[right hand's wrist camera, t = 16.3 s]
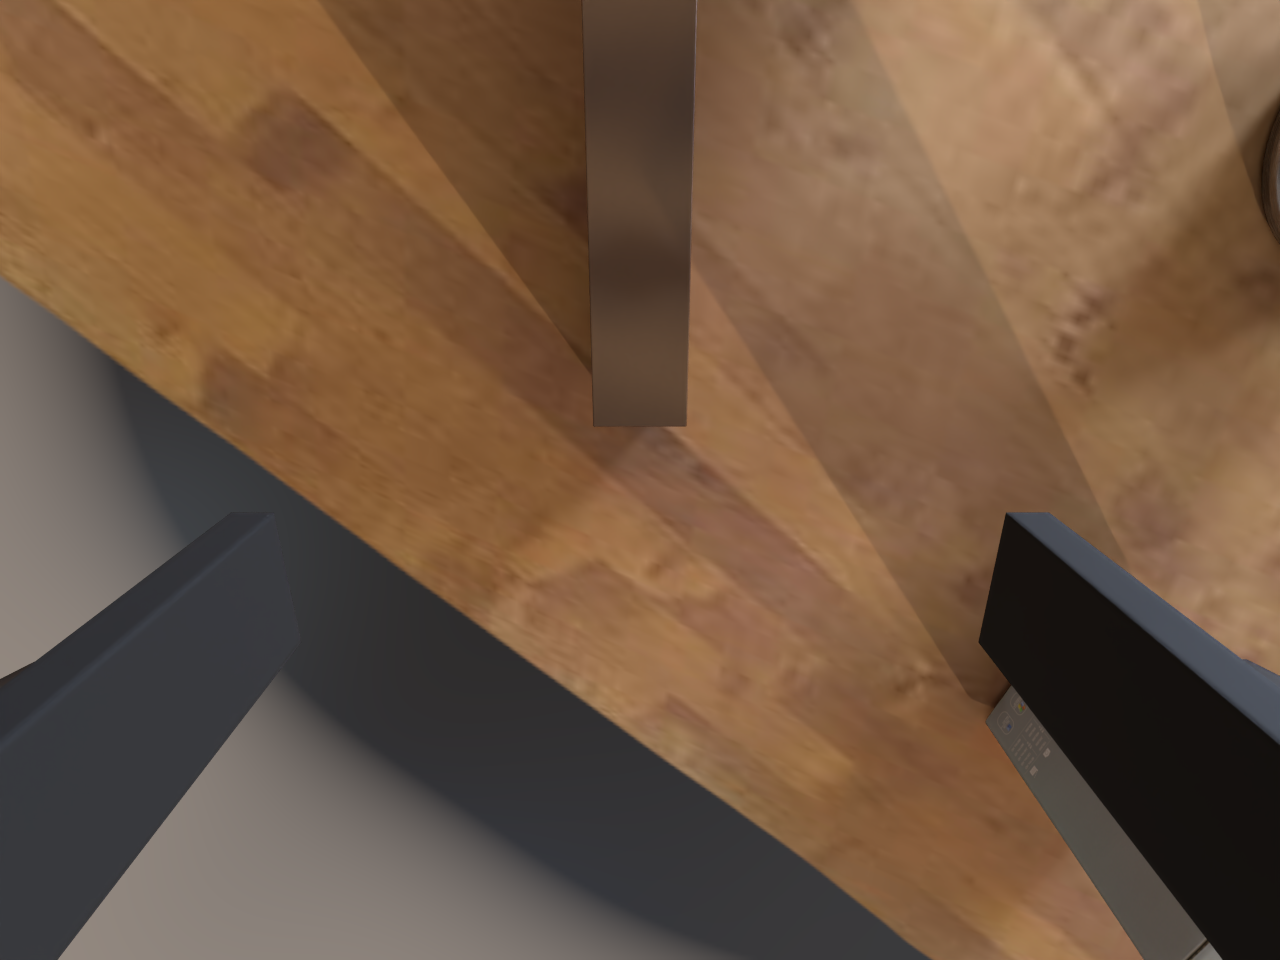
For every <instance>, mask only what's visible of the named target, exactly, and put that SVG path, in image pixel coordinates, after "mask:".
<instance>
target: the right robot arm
mask: <svg viewBox="0 0 1280 960" xmlns="http://www.w3.org/2000/svg"><path fill="white" fill-rule="evenodd" d="M1262 197H1263V204H1264V210H1265V214H1266V217H1267V220H1268V223H1269V226H1270V228H1271V230H1272V233H1273V234H1274V236H1275V238H1276V239H1277V241H1278V243H1279V244H1280V111H1279V113H1278V115H1277V118H1276V120H1275V123H1274V125H1273V128H1272V131H1271V134H1270V137H1269V140H1268V144H1267V148H1266V152H1265V157H1264V164H1263V171H1262ZM300 643H301V638H300V633H299V628H298V624H297V619H296V614H295V609H294V605H293V600H292V595H291V591H290V586H289V581H288V576H287V572H286V567H285V562H284V558H283V553H282V548H281V544H280V539H279V534H278V529H277V525H276V520H275V515H274V513H230V514H229V515H227V516H226V517H225V518H223V519H222V520H221V521H219V522H218V523H217V524H215V525H214V526H213V527H212V528H210V529H209V530H208V531H206V532H205V533H204V534H202V535H201V536H200V537H198V538H197V539H196V540H194V541H193V542H192V543H191V544H189V545H188V546H187V547H185V548H184V549H183V550H181V551H180V552H179V553H177V554H176V555H175V556H173V557H172V558H171V559H169V560H168V561H167V562H165V563H164V564H163V565H162V566H160V567H159V568H158V569H156V570H155V571H154V572H152V573H151V574H150V575H148V576H147V577H146V578H144V579H143V580H142V581H141V582H139V583H138V584H137V585H135V586H134V587H133V588H131V589H130V590H129V591H127V592H126V593H125V594H123V595H122V596H121V597H120V598H118V599H117V600H116V601H114V602H113V603H112V604H110V605H109V606H108V607H106V608H105V609H104V610H102V611H101V612H100V613H98V614H97V615H96V616H94V617H93V618H92V619H91V620H89V621H88V622H87V623H85V624H84V625H83V626H81V627H80V628H79V629H77V630H76V631H75V632H73V633H72V634H71V635H69V636H68V637H67V638H66V639H64V640H63V641H62V642H60V643H59V644H58V645H56V646H55V647H54V648H52V649H51V650H50V651H48V652H47V653H46V654H45V655H43V656H42V657H41V658H39V659H38V660H37V661H35V662H33V663H31V664H29V665H27V666H25V667H23V668H21V669H19V670H17V671H15V672H13V673H11V674H9V675H7V676H5V677H3V678H1V679H0V960H58V958H59V957H60V956H61V954H62V953H63V952H64V951H65V949H66V948H67V947H68V945H69V944H70V943H71V941H72V940H73V939H74V938H75V936H76V935H77V934H78V932H79V931H80V930H81V928H82V927H83V926H84V925H85V923H86V922H87V921H88V919H89V918H90V917H91V915H92V914H93V913H94V912H95V910H96V909H97V908H98V906H99V905H100V904H101V902H102V901H103V900H104V899H105V897H106V896H107V895H108V893H109V892H110V891H111V889H112V888H113V887H114V886H115V884H116V883H117V882H118V880H119V879H120V878H121V876H122V875H123V874H124V873H125V871H126V870H127V869H128V867H129V866H130V865H131V863H132V862H133V861H134V859H135V858H136V857H137V856H138V854H139V853H140V852H141V850H142V849H143V848H144V846H145V845H146V844H147V843H148V841H149V840H150V839H151V837H152V836H153V835H154V833H155V832H156V831H157V829H158V828H159V827H160V826H161V824H162V823H163V822H164V820H165V819H166V818H167V817H168V815H169V814H170V813H171V811H172V810H173V809H174V807H175V806H176V805H177V804H178V802H179V801H180V800H181V798H182V797H183V796H184V794H185V793H186V792H187V790H188V789H189V788H190V787H191V785H192V784H193V783H194V781H195V780H196V779H197V778H198V776H199V775H200V774H201V772H202V771H203V770H204V768H205V767H206V766H207V765H208V763H209V762H210V761H211V759H212V758H213V757H214V755H215V754H216V753H217V752H218V750H219V749H220V748H221V746H222V745H223V744H224V742H225V741H226V740H227V738H228V737H229V736H230V735H231V733H232V732H233V731H234V729H235V728H236V727H237V725H238V724H239V723H240V722H241V720H242V719H243V718H244V716H245V715H246V714H247V712H248V711H249V710H250V709H251V707H252V706H253V705H254V703H255V702H256V701H257V699H258V698H259V697H260V696H261V694H262V693H263V692H264V690H265V689H266V688H267V686H268V685H269V684H270V683H271V681H272V680H273V679H274V677H275V676H276V675H277V673H278V672H279V671H280V669H281V668H282V667H283V666H284V664H285V663H286V662H287V660H288V659H289V658H290V657H291V655H292V654H293V653H294V651H295V650H296V649H297V647H298V646H299V645H300ZM979 643H980V645H981V646H982V647H983V649H984V650H985V651H986V653H987V654H988V655H989V657H990V658H991V659H992V660H993V662H994V663H995V664H996V666H997V667H998V668H999V670H1000V671H1001V672H1002V673H1003V675H1004V676H1005V677H1006V679H1007V680H1008V681H1009V683H1010V684H1011V685H1012V686H1013V688H1014V689H1015V690H1016V692H1017V693H1018V694H1019V696H1020V697H1021V698H1022V699H1023V701H1024V702H1025V703H1026V705H1027V706H1028V707H1029V709H1030V710H1031V711H1032V712H1033V714H1034V715H1035V716H1036V718H1037V719H1038V720H1039V722H1040V723H1041V724H1042V725H1043V727H1044V728H1045V729H1046V731H1047V732H1048V733H1049V735H1050V736H1051V737H1052V738H1053V740H1054V741H1055V742H1056V744H1057V745H1058V746H1059V748H1060V749H1061V750H1062V752H1063V753H1064V754H1065V755H1066V757H1067V758H1068V759H1069V761H1070V762H1071V763H1072V765H1073V766H1074V767H1075V768H1076V770H1077V771H1078V772H1079V774H1080V775H1081V776H1082V778H1083V779H1084V780H1085V781H1086V783H1087V784H1088V785H1089V787H1090V788H1091V789H1092V791H1093V792H1094V793H1095V794H1096V796H1097V797H1098V798H1099V800H1100V801H1101V802H1102V804H1103V805H1104V806H1105V807H1106V809H1107V810H1108V811H1109V813H1110V814H1111V815H1112V817H1113V818H1114V819H1115V820H1116V822H1117V823H1118V824H1119V826H1120V827H1121V828H1122V830H1123V831H1124V832H1125V833H1126V835H1127V836H1128V837H1129V839H1130V840H1131V841H1132V843H1133V844H1134V845H1135V846H1136V848H1137V849H1138V850H1139V852H1140V853H1141V854H1142V856H1143V857H1144V858H1145V860H1146V861H1147V862H1148V863H1149V865H1150V866H1151V867H1152V869H1153V870H1154V871H1155V873H1156V874H1157V875H1158V876H1159V878H1160V879H1161V880H1162V882H1163V883H1164V884H1165V886H1166V887H1167V888H1168V889H1169V891H1170V892H1171V893H1172V895H1173V896H1174V897H1175V899H1176V900H1177V901H1178V902H1179V904H1180V905H1181V906H1182V908H1183V909H1184V910H1185V912H1186V913H1187V914H1188V915H1189V917H1190V918H1191V919H1192V921H1193V922H1194V923H1195V925H1196V926H1197V927H1198V928H1199V930H1200V931H1201V932H1202V934H1203V935H1204V936H1205V938H1206V939H1207V940H1208V941H1209V943H1210V944H1211V945H1212V947H1213V948H1214V949H1215V951H1216V952H1217V953H1218V955H1219V956H1220V957H1221V958H1222V960H1280V676H1279V675H1277V674H1275V673H1273V672H1271V671H1269V670H1267V669H1265V668H1263V667H1261V666H1259V665H1257V664H1255V663H1253V662H1251V661H1249V660H1247V659H1241V658H1239V657H1238V656H1237V655H1235V654H1234V653H1233V652H1232V651H1230V650H1229V649H1228V648H1226V647H1225V646H1224V645H1222V644H1221V643H1220V642H1218V641H1217V640H1216V639H1214V638H1213V637H1212V636H1211V635H1209V634H1208V633H1207V632H1205V631H1204V630H1203V629H1201V628H1200V627H1199V626H1197V625H1196V624H1195V623H1193V622H1192V621H1191V620H1189V619H1188V618H1187V617H1186V616H1184V615H1183V614H1182V613H1180V612H1179V611H1178V610H1176V609H1175V608H1174V607H1172V606H1171V605H1170V604H1168V603H1167V602H1166V601H1164V600H1163V599H1162V598H1161V597H1159V596H1158V595H1157V594H1155V593H1154V592H1153V591H1151V590H1150V589H1149V588H1147V587H1146V586H1145V585H1143V584H1142V583H1141V582H1139V581H1138V580H1137V579H1136V578H1134V577H1133V576H1132V575H1130V574H1129V573H1128V572H1126V571H1125V570H1124V569H1122V568H1121V567H1120V566H1118V565H1117V564H1116V563H1115V562H1113V561H1112V560H1111V559H1109V558H1108V557H1107V556H1105V555H1104V554H1103V553H1101V552H1100V551H1099V550H1097V549H1096V548H1095V547H1093V546H1092V545H1091V544H1090V543H1088V542H1087V541H1086V540H1084V539H1083V538H1082V537H1080V536H1079V535H1078V534H1076V533H1075V532H1074V531H1072V530H1071V529H1070V528H1068V527H1067V526H1066V525H1065V524H1063V523H1062V522H1061V521H1059V520H1058V519H1057V518H1055V517H1054V516H1053V515H1051V514H1050V513H1006V515H1005V520H1004V525H1003V529H1002V534H1001V539H1000V544H999V548H998V553H997V558H996V562H995V567H994V572H993V576H992V581H991V586H990V591H989V595H988V600H987V605H986V609H985V614H984V619H983V623H982V628H981V633H980V638H979Z"/></svg>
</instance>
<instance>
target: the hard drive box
mask: <svg viewBox="0 0 1280 960" xmlns="http://www.w3.org/2000/svg"><path fill="white" fill-rule="evenodd" d="M986 724H987V726H988V727H989V728H990V730H991V732H992V733H993V735H994V736H995V738H996V739H997V741H998V742H999V744H1000V745H1001V747H1002V748H1003V750H1004V751H1005V753H1006V754H1007V756H1008V757H1009V759H1010V760H1011V762H1012V763H1013V765H1014V766H1015V768H1016V769H1017V771H1018V772H1019V774H1020V775H1021V777H1022V778H1023V780H1024V781H1025V783H1026V784H1027V786H1028V787H1029V789H1030V790H1031V792H1032V793H1033V795H1034V796H1035V798H1036V799H1037V800H1038V802H1039V803H1040V805H1041V806H1042V808H1043V809H1044V811H1045V812H1046V814H1047V815H1048V817H1049V818H1050V820H1051V821H1052V823H1053V824H1054V826H1055V827H1056V829H1057V830H1058V832H1059V833H1060V835H1061V836H1062V838H1063V839H1064V841H1065V842H1066V844H1067V845H1068V847H1069V848H1070V850H1071V851H1072V853H1073V854H1074V855H1075V857H1076V858H1077V860H1078V861H1079V863H1080V864H1081V866H1082V867H1083V869H1084V870H1085V872H1086V873H1087V875H1088V876H1089V878H1090V879H1091V881H1092V882H1093V884H1094V885H1095V887H1096V888H1097V890H1098V891H1099V893H1100V894H1101V896H1102V897H1103V899H1104V900H1105V902H1106V903H1107V905H1108V906H1109V908H1110V909H1111V911H1112V912H1113V914H1114V915H1115V917H1116V918H1117V920H1118V921H1119V923H1120V924H1121V926H1122V927H1123V929H1124V930H1125V932H1126V933H1127V935H1128V936H1129V938H1130V939H1131V941H1132V942H1133V944H1134V945H1135V947H1136V948H1137V950H1138V951H1139V953H1140V954H1141V956H1142V957H1143V959H1144V960H1222V958H1221V957H1220V956H1219V955H1218V953H1217V952H1216V951H1215V949H1214V948H1213V947H1212V945H1211V944H1210V943H1209V941H1208V940H1207V939H1206V938H1205V936H1204V935H1203V934H1202V932H1201V931H1200V930H1199V928H1198V927H1197V926H1196V925H1195V923H1194V922H1193V921H1192V919H1191V918H1190V917H1189V915H1188V914H1187V913H1186V912H1185V910H1184V909H1183V908H1182V906H1181V905H1180V904H1179V902H1178V901H1177V900H1176V899H1175V897H1174V896H1173V895H1172V893H1171V892H1170V891H1169V889H1168V888H1167V887H1166V886H1165V884H1164V883H1163V882H1162V880H1161V879H1160V878H1159V876H1158V875H1157V874H1156V873H1155V871H1154V870H1153V869H1152V867H1151V866H1150V865H1149V863H1148V862H1147V861H1146V860H1145V858H1144V857H1143V856H1142V854H1141V853H1140V852H1139V850H1138V849H1137V848H1136V846H1135V845H1134V844H1133V843H1132V841H1131V840H1130V839H1129V837H1128V836H1127V835H1126V833H1125V832H1124V831H1123V830H1122V828H1121V827H1120V826H1119V824H1118V823H1117V822H1116V820H1115V819H1114V818H1113V817H1112V815H1111V814H1110V813H1109V811H1108V810H1107V809H1106V807H1105V806H1104V805H1103V804H1102V802H1101V801H1100V800H1099V798H1098V797H1097V796H1096V794H1095V793H1094V792H1093V791H1092V789H1091V788H1090V787H1089V785H1088V784H1087V783H1086V781H1085V780H1084V779H1083V778H1082V776H1081V775H1080V774H1079V772H1078V771H1077V770H1076V768H1075V767H1074V766H1073V765H1072V763H1071V762H1070V761H1069V759H1068V758H1067V757H1066V755H1065V754H1064V753H1063V752H1062V750H1061V749H1060V748H1059V746H1058V745H1057V744H1056V742H1055V741H1054V740H1053V738H1052V737H1051V736H1050V735H1049V733H1048V732H1047V731H1046V729H1045V728H1044V727H1043V725H1042V724H1041V723H1040V722H1039V720H1038V719H1037V718H1036V716H1035V715H1034V714H1033V712H1032V711H1031V710H1030V709H1029V707H1028V706H1027V705H1026V703H1025V702H1024V701H1023V699H1022V698H1021V697H1020V696H1019V694H1018V693H1017V692H1016V690H1015V689H1014V688H1013V686H1012V685H1011V686H1010V688H1009V689H1008V691H1007V692H1006V693H1005V695H1004V696H1003V697H1002V699H1001V700H1000V702H999V703H998V704H997V706H996V707H995V708H994V710H993V711H992V712H991V714H990V715H989V717H988V718H987V720H986Z"/></svg>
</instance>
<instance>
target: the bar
mask: <svg viewBox="0 0 1280 960" xmlns="http://www.w3.org/2000/svg"><path fill="white" fill-rule="evenodd" d="M696 27H697V0H582V30H583V66H584V103H585V140H586V176H587V213H588V249H589V286H590V323H591V359H592V396H593V426H594V427H645V426H687V394H688V353H689V312H690V271H691V231H692V190H693V149H694V108H695V68H696Z"/></svg>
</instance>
